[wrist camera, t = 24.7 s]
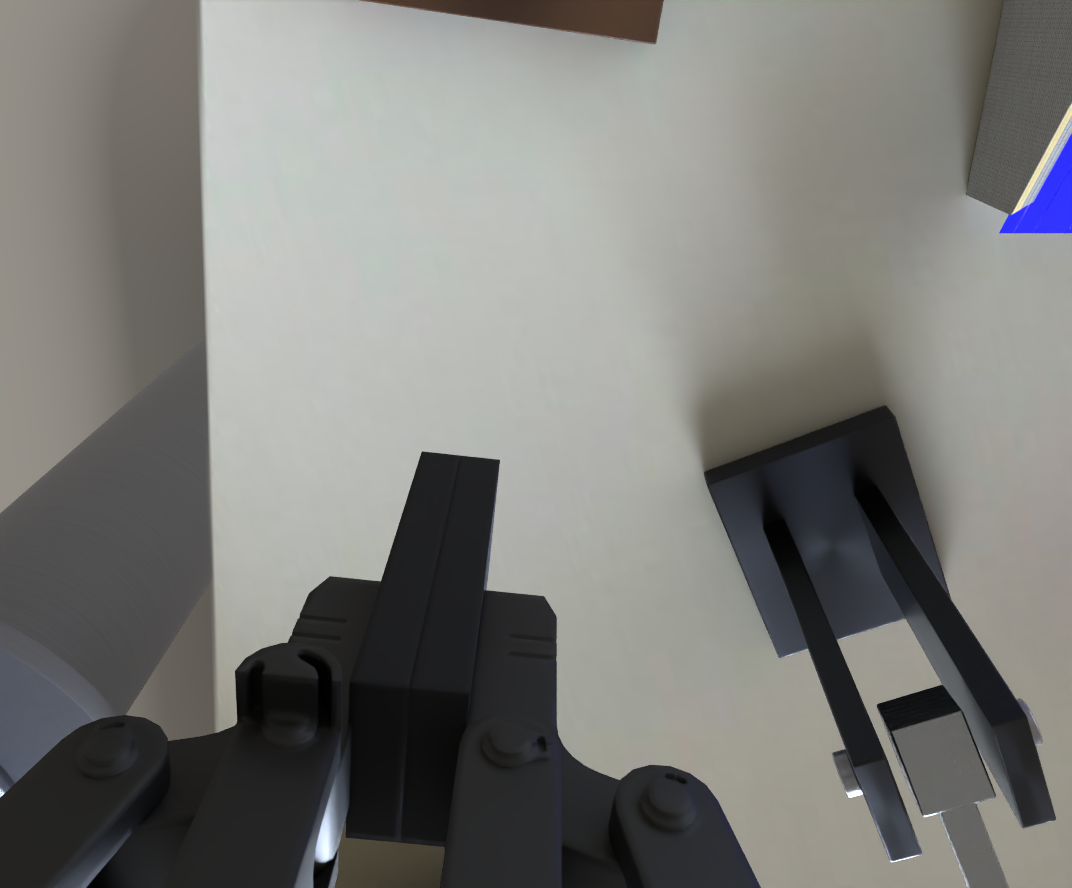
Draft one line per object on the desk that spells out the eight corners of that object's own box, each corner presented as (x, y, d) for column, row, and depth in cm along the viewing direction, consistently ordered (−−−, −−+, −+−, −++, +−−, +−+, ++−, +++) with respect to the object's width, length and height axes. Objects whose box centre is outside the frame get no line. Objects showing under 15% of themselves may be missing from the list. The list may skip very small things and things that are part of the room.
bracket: (942, 588, 41) (1124, 868, 27) (774, 642, 42) (867, 930, 29) (886, 404, 37) (1065, 624, 23) (703, 471, 38) (773, 713, 25)
